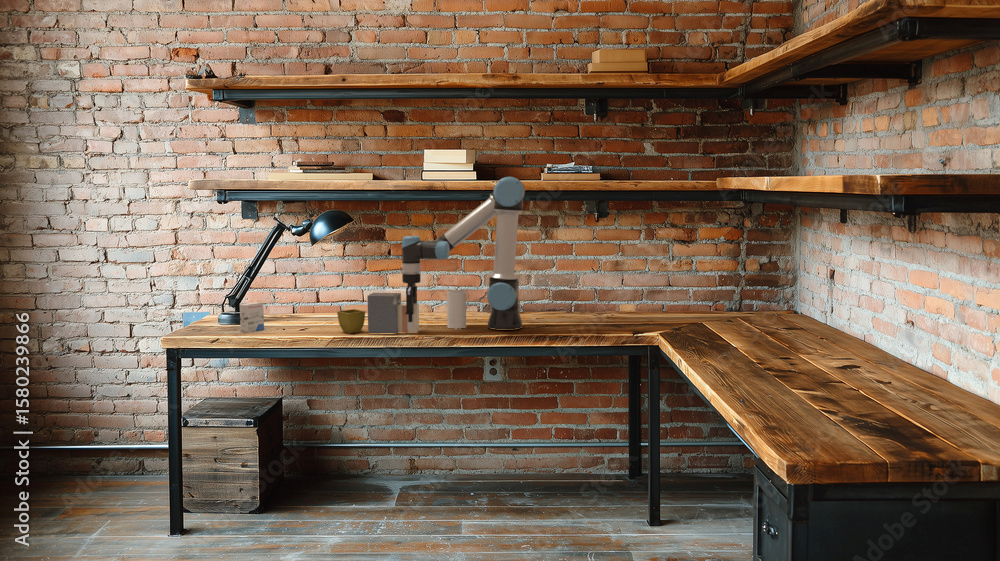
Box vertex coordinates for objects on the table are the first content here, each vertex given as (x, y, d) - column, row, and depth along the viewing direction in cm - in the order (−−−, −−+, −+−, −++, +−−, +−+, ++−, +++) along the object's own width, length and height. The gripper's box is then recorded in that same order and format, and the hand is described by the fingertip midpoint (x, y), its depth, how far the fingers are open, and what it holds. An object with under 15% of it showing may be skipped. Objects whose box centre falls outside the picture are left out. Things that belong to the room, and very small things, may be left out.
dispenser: (401, 330, 314) (400, 292, 312) (396, 334, 304) (396, 296, 303) (373, 329, 315) (372, 292, 313) (368, 334, 305) (367, 295, 303)
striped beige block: (419, 331, 311) (418, 303, 310) (417, 333, 306) (416, 305, 305) (390, 331, 312) (390, 303, 311) (388, 333, 307) (388, 304, 306)
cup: (449, 329, 315) (449, 292, 313) (445, 326, 323) (445, 290, 321) (468, 328, 317) (468, 292, 315) (463, 325, 325) (463, 289, 323)
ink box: (258, 328, 318) (257, 301, 316) (264, 329, 315) (263, 302, 313) (240, 331, 311) (238, 303, 310) (246, 332, 308) (245, 304, 307)
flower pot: (336, 332, 310) (336, 311, 309) (354, 329, 316) (354, 308, 315) (348, 334, 303) (348, 313, 302) (366, 332, 309) (365, 311, 308)
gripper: (406, 270, 315) (407, 324, 318) (398, 275, 297) (399, 332, 300) (423, 271, 315) (424, 324, 318) (416, 275, 297) (417, 332, 300)
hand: (412, 328), depth 309 cm, fingers closed on striped beige block, 5 cm apart
